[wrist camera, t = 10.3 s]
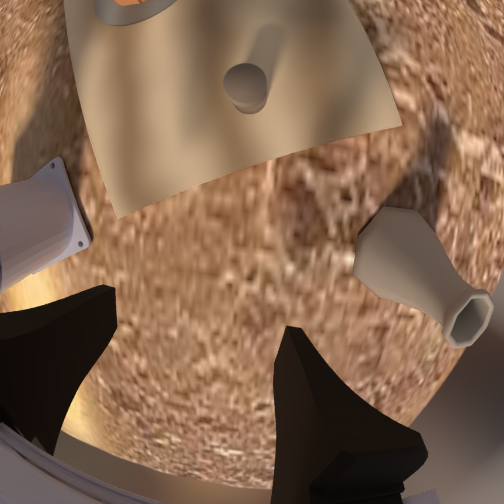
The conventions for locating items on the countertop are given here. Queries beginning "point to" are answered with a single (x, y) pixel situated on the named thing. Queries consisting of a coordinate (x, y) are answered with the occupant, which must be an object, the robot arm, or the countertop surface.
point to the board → (217, 87)
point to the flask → (419, 274)
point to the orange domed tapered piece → (128, 2)
